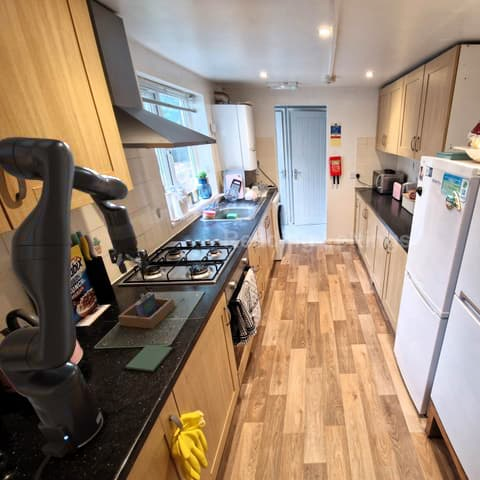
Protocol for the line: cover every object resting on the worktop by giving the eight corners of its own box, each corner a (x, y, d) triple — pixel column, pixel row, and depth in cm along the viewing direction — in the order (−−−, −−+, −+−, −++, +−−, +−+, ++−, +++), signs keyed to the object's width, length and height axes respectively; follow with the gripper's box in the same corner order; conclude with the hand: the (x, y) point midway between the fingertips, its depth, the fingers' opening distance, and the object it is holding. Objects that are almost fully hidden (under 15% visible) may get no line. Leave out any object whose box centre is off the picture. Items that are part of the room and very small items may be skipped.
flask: (144, 323, 108) (137, 301, 105) (137, 322, 109) (130, 300, 105) (159, 309, 117) (154, 288, 113) (153, 309, 117) (148, 288, 113)
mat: (153, 371, 86) (152, 369, 86) (125, 368, 88) (125, 366, 87) (172, 348, 96) (172, 347, 95) (147, 346, 97) (147, 344, 96)
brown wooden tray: (152, 328, 106) (150, 319, 104) (120, 325, 107) (117, 316, 106) (175, 307, 119) (173, 298, 117) (146, 304, 120) (143, 296, 119)
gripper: (95, 237, 93) (109, 277, 99) (132, 240, 92) (144, 280, 98) (113, 230, 100) (125, 267, 106) (147, 232, 98) (158, 270, 105)
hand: (134, 273), depth 102 cm, fingers open, 8 cm apart
